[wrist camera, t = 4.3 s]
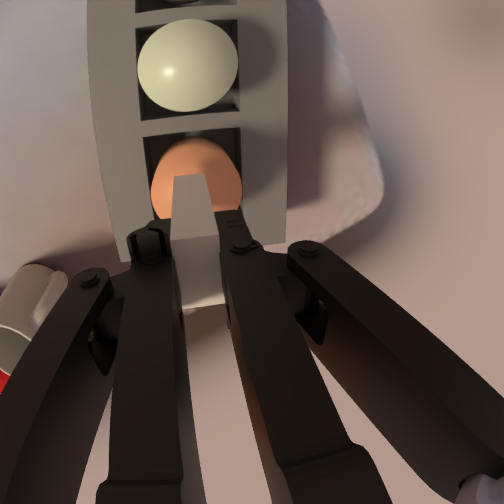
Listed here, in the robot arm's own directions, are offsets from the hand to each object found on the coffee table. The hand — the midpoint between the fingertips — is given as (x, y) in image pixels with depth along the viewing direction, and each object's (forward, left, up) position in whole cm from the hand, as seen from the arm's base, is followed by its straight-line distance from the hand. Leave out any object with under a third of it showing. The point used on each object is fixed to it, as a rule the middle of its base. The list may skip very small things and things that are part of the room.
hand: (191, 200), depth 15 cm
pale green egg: (0, +7, -5) cm, 9 cm away
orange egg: (0, 0, -5) cm, 5 cm away
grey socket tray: (0, +7, -9) cm, 12 cm away
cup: (-16, -10, -10) cm, 21 cm away
